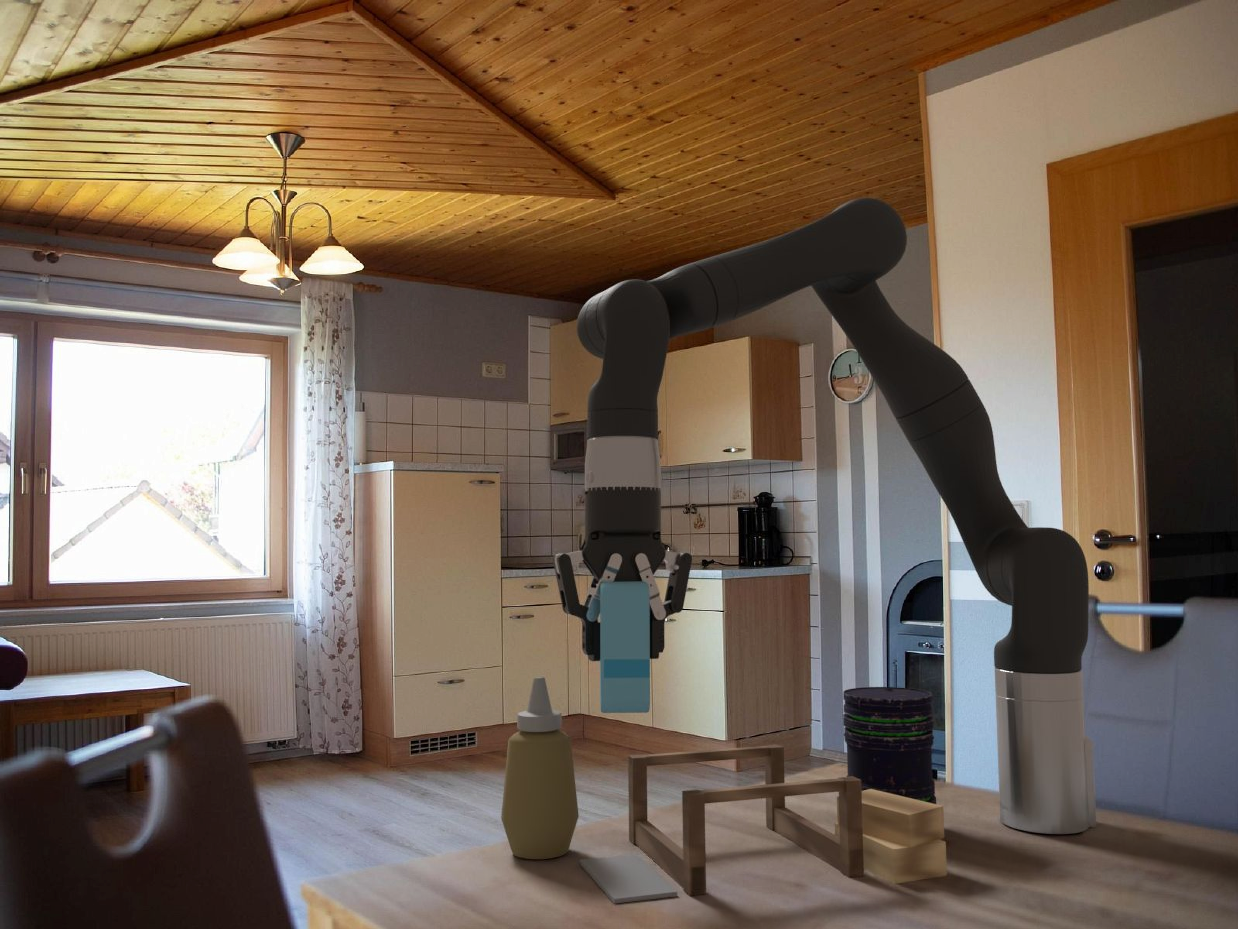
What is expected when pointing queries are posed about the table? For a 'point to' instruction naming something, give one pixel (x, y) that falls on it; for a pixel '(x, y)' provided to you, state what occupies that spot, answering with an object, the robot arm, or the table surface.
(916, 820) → the offcut upper
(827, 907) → the table surface
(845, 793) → the frame
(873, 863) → the offcut lower
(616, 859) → the mat
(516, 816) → the squeeze bottle
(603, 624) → the blue rounded block
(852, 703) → the dark navy cylinder
